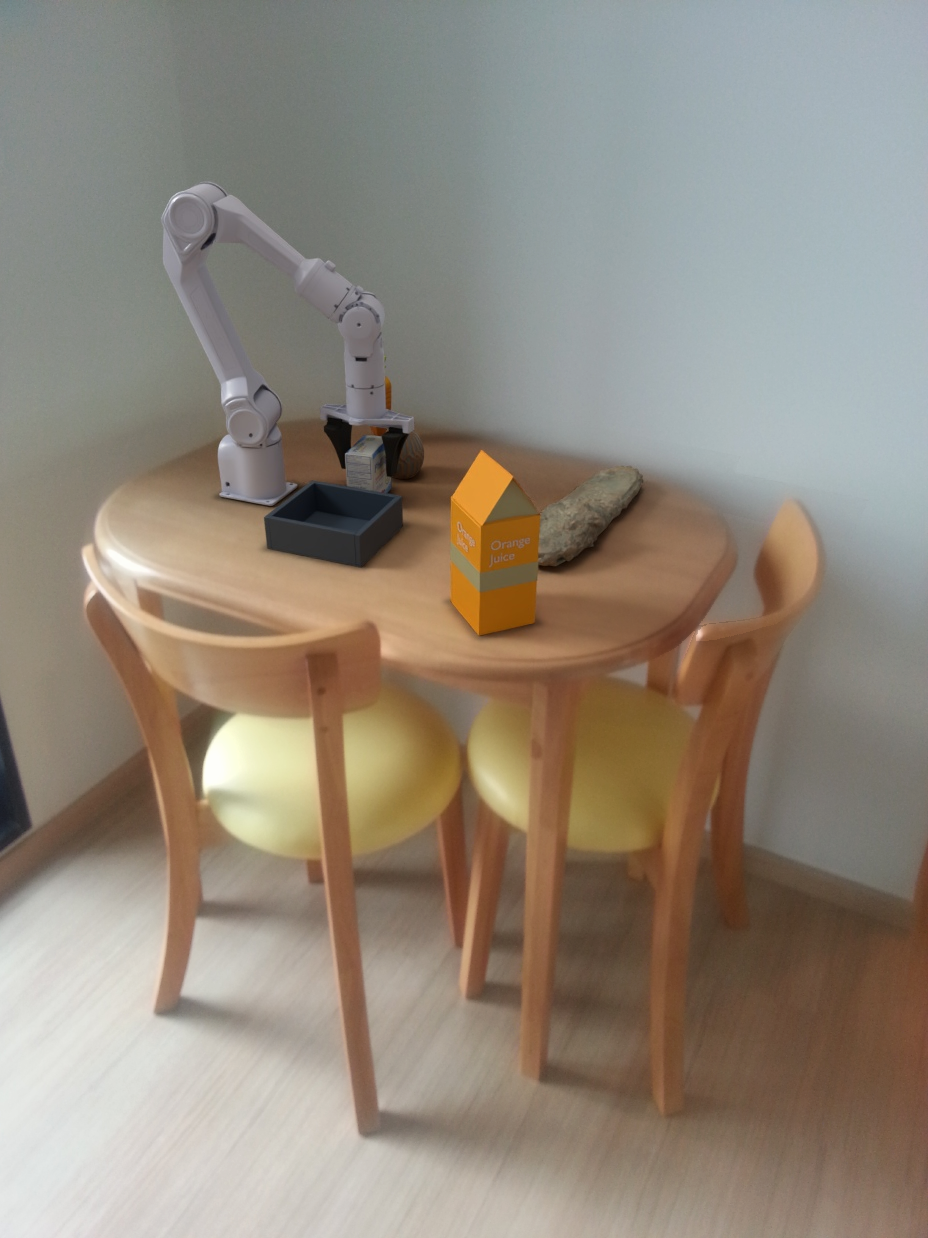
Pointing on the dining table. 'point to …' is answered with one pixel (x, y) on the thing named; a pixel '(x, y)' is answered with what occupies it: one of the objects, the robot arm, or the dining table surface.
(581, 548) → the elongated rock
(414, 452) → the vase
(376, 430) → the carrot
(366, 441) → the medicine box
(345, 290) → the robot arm
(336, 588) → the dining table surface
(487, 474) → the orange juice
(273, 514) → the basket
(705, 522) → the dining table surface
